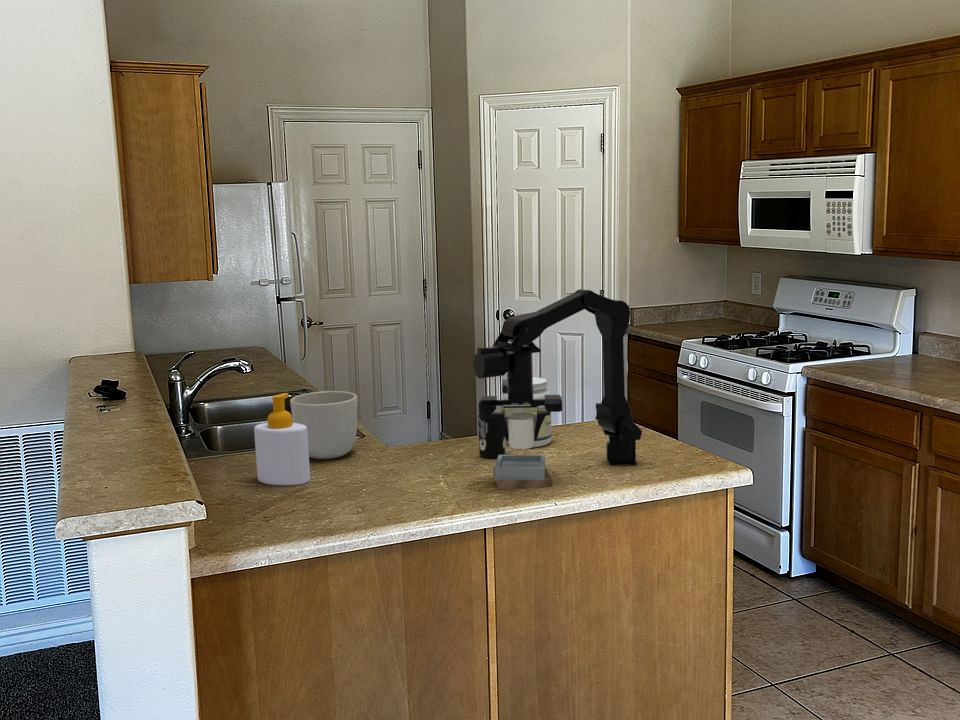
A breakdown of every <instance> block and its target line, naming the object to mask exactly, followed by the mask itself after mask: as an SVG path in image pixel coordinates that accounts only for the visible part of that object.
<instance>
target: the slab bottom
mask: <svg viewBox="0 0 960 720" xmlns="http://www.w3.org/2000/svg"><path fill="white" fill-rule="evenodd" d="M493 476H494V478H495V466H493ZM495 483H496V486H497V489H498V490H517V489H518V490H519V489H532V488H533V489H536V488H552V487H553V486H552V484H553V481H552V477H551V475H550V473H549V472H548V469H547V468H546V466H545V477H544V480H495Z"/></svg>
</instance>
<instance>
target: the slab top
mask: <svg viewBox="0 0 960 720" xmlns="http://www.w3.org/2000/svg"><path fill="white" fill-rule="evenodd" d="M494 467H495V477H494V480H495V481H496V480H544V477H545V467H546V454H504V455H498V458H496V462H495V466H494Z"/></svg>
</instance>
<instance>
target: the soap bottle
mask: <svg viewBox="0 0 960 720" xmlns="http://www.w3.org/2000/svg"><path fill="white" fill-rule="evenodd" d="M288 397H289V393H288V392H284V393H280V394H276V395H273V396H272V410H273V411H272V412H270V413H269V414H268V416H267V422H264V423H259V424H256V425H255V426H254V428H253V430H254V431H253V433H254V434H253V436H254V446H255V447H254V448H255V461H256V462H255V463H256V473H257V474H256V475H257V480H258V481H259V482H260V483H263V484H266V485H270V486H271V485H273V486H298V485H305V484H306V483H309V482H310V480H311V471H310V469H311V468H310V467H311V466H310V457H309V451H308V436H307V427H306V426H305V425H302V424H298V423H293V418H292V413H291V412H289V411H287V410H286V407H285V399H288Z"/></svg>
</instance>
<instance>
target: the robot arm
mask: <svg viewBox="0 0 960 720" xmlns="http://www.w3.org/2000/svg"><path fill="white" fill-rule="evenodd" d="M583 310H585V311H587V312H588V313H591V314H593V315H594V319H595V323H596V327H597V330H598V331H599V333H600V335H601V338H602V364H603V365H602V366H603V398H602V400H601V402H599V403H598V402H596V403H595V411H596V414H595V419H594V420H596V421H597V422H598V425H599V427H600V428H602V431H603V434H604V435H605V436H608V441H606V444H605V445H606V447H605V448H606V450H605V451H606V455H605V456H606V461H607V462H608V464H609V466H636V465H638V462H637V458H636V457H637V456H636V455H637V454H636V453H637V448H636V447H637V445H636V444H637V443H636V442H637V441H639V440H641V437H642V434H643V430H642V429H641V428H640V427H639V426H638V425H637V424H636V423H635V422H634V419H633V414H632V409H631V406H630V405H629V402H628V400H627V398H626V392H625V390H626V389H625V388H626V386H625V354H624V351H625V350H624V349H625V348H624V347H625V346H624V337H625V335H626V333H627V330H628V328H629V326H630V319H631V308H630V305H628V304H627V302H625V301H624V300H618V299H611V298H608V297H606V296H602V295H600V294H598V293H596V292H595V291H592V290H589V289H582V288H580V289H577V290H576V291H574V292H572V293H571V294H569V295H567V296H565V297H563V298H560V299H559V300H557V301H554V302H553V303H550V304H549V305H547V306H544V307H543V308H540V309H538V310H536V311H533V312H528V313H521V314H517V315H514V316H510V317H508V318H507V319H505V320H504V321H503V324H502V328H501V331H500V333H499V335H498V336H497V337H496V340H495V341H494V343H493V344H492V346H490V347H489V346H488V347H486V346H485V347H484V346H480V347H477V349H476V351H477V352H476V353H475V356H474V358H473V361H472V366H473V371H474V374H475V376H476V377H477V378H478V379H487V378H495V377H502V376H503V377H504V376H505V375H506V377H507V378H506V379H502V382H501V385H502V386H501V388H502V389H501V390H502V394H503V395H505V394H508V400H505V399H498V395H485V396H484V395H482V396H481V397H480V398H479V401H478V414H479V413H491V416H493V417H496V419H497V420H498V422H499V424H500V426H501V428H502V430H503V433H504V436H505V442H507V441H509V439H508V431H507V422H506V414H505V408H536V407H538V408H537V416H536V425H535V441H537V437H538V434H539V431H540V428H541V425H542V423H543V421H544V418H545V416H549V415H550V412H551V413H556V412H557V413H558V412H559V413H560V412H563V397H562V396H561V395H560V394H550V395H545V399H533V354H535V353H541V351H542V350H541V349H540V347H539V346H537V345H536V344H535V342H534V341H535V340H537V339H538V338H539V337H541V335H542V334H543V333H544V331H545V330H547V329H548V328H549V327H552V326H553V325H556V324H557V323H559V322H561V321H564V320H565V319H568V318H570V317H572V316H573V315H576V314H577V313H580V312H582V311H583ZM511 403H512V404H511ZM516 403H517V404H516ZM523 403H524V404H523ZM525 403H530V404H525Z"/></svg>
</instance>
